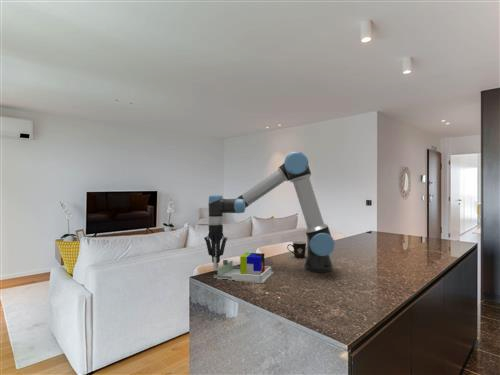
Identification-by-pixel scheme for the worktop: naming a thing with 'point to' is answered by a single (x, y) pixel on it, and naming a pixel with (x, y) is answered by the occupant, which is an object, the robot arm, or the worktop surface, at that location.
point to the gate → (225, 267)
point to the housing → (246, 275)
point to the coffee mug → (298, 249)
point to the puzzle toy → (252, 263)
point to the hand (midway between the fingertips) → (216, 268)
